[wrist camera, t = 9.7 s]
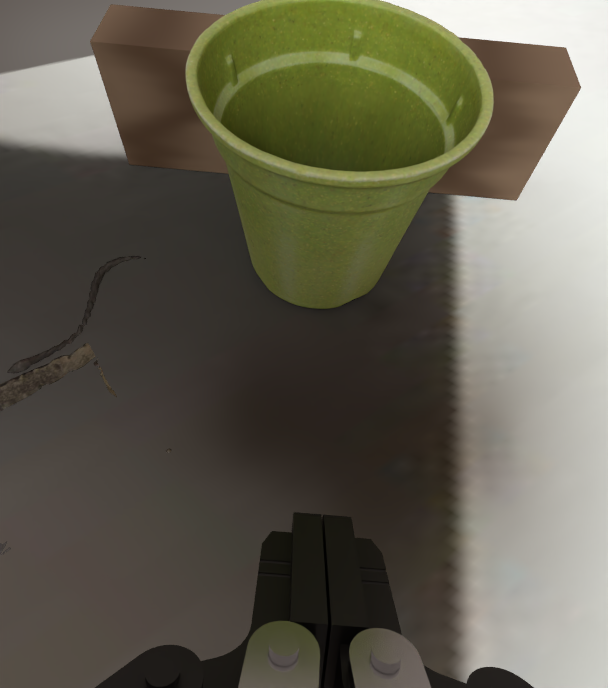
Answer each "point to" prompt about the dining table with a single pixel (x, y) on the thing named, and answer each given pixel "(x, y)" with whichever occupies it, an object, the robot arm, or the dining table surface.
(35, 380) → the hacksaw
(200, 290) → the dining table surface
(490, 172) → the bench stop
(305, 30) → the plant pot
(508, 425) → the dining table surface
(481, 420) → the dining table surface
